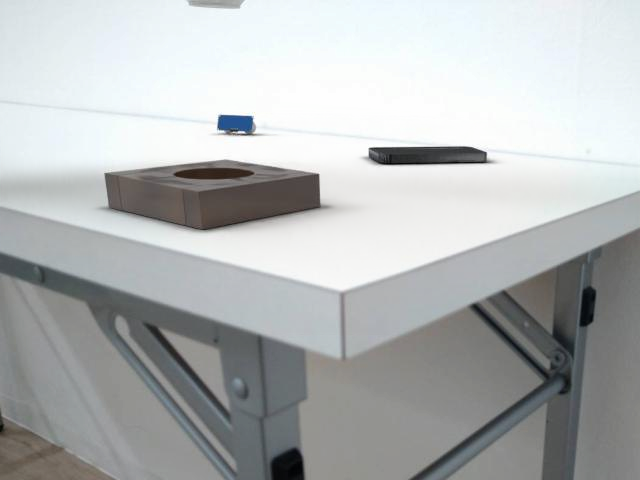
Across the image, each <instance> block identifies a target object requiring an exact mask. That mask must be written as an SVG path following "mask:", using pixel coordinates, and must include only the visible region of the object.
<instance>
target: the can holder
mask: <svg viewBox="0 0 640 480" xmlns="http://www.w3.org/2000/svg"><path fill="white" fill-rule="evenodd" d="M320 180H321V179H320V173H316V172H310V171H303V170H297V169H291V168H284V167H280V166H279V167H277V166H273V165H265V164H258V163H251V162H245V161H238V160H232V159H227V158H225V159H218V160H209V161H199V162H191V163H181V164H180V163H179V164H173V165H172V164H171V165H163V166H155V167H146V168H138V169H137V168H136V169H129V170H128V169H127V170H119V171H110V172H104V182H105V190H106V198H107V203H108V208H109V209H110V208H111V209H114V210H119V211H123V212H127V213H132V214H135V215H140V216H144V217H148V218H153V219H155V220H156V219H157V220H161V221H165V222H169V223H173V224H174V223H175V224H178V225H182V226H186V227H191V228H195V229H198V230H207V229H212V228H213V229H214V228H218V227H222V226H223V227H224V226H227V225H233V224H238V223H243V222H248V221H253V220H258V219H265V218H268V217H269V218H270V217H273V216H278V215H284V214H285V215H286V214H289V213H294V212H299V211H300V212H301V211H306V210H311V209H315V208H320V207H321V184H320V183H321V182H320Z"/></svg>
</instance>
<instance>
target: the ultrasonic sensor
mask: <svg viewBox="0 0 640 480" xmlns="http://www.w3.org/2000/svg"><path fill="white" fill-rule="evenodd" d="M256 130H257V125H256V123H255V122H254V115H244V114H243V115H242V114H241V115H239V114H218V116H217V124H216V131H220V132H221V131H223V132H224V133H225V134H230V135H232V136H235V135H236V136H237V135H238V132H244V133H245V134H247V135H252V134H254V133H255V132H256Z"/></svg>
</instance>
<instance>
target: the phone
mask: <svg viewBox="0 0 640 480" xmlns="http://www.w3.org/2000/svg"><path fill="white" fill-rule="evenodd" d="M368 157H369V158H370V159H372V160H374V161H376V162H377V163H381V164H417V163H419V164H420V163H423V164H426V163H473V162H474V163H475V162H476V163H477V162H487V160H488V151H486V150H481V149H478V148H476V147H473V146H463V145H462V146H461V145H460V146H452V145H451V146H449V145H448V146H372V147H368Z"/></svg>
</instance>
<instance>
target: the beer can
mask: <svg viewBox="0 0 640 480" xmlns="http://www.w3.org/2000/svg"><path fill="white" fill-rule="evenodd" d="M244 1H245V0H186V2H187V3H188V6H190V7H197V8H207V9H208V8H209V9H228V10H229V9H230V10H231V9H232V10H235V9H236V10H237V9H241V5H242V4H243V3H244Z"/></svg>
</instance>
